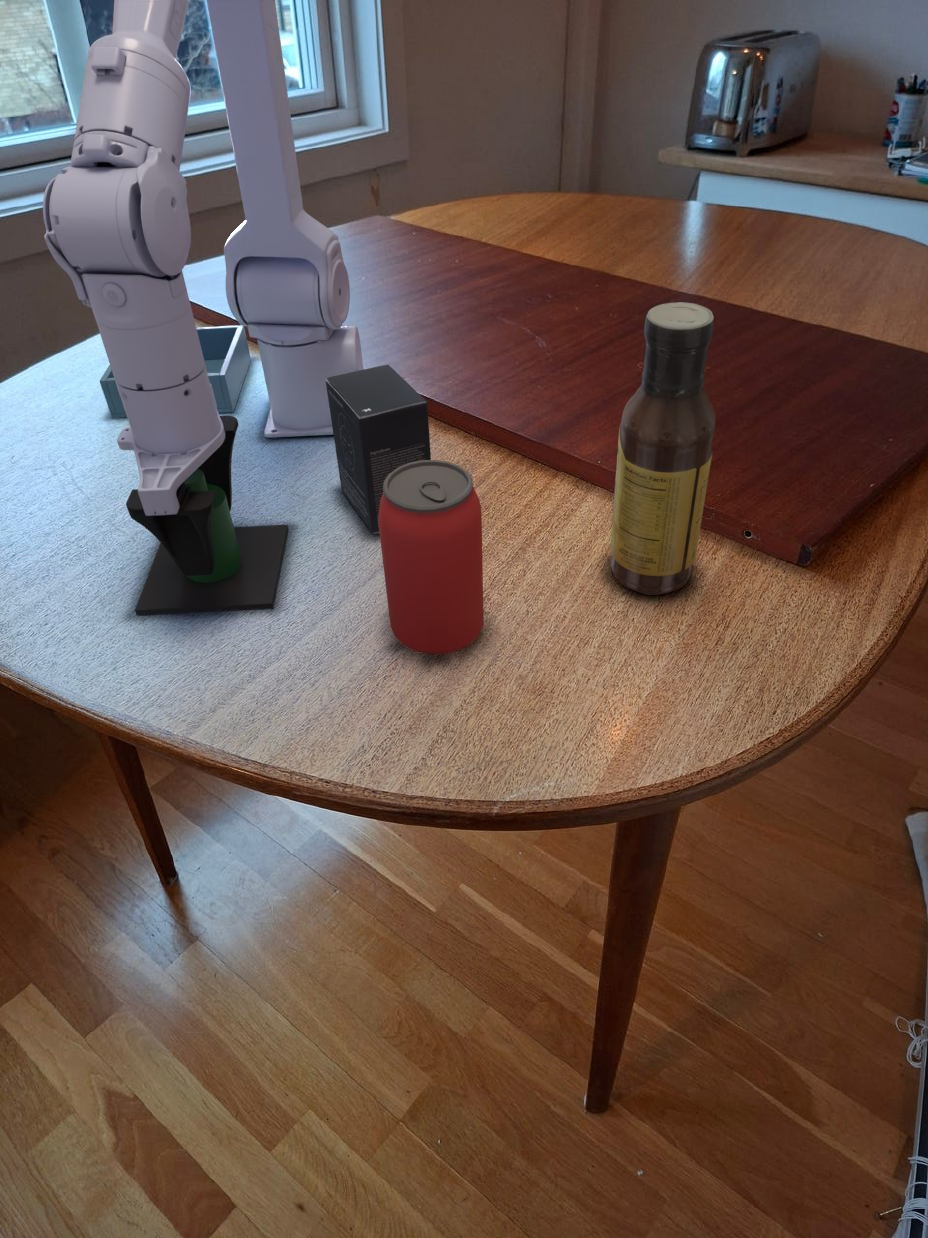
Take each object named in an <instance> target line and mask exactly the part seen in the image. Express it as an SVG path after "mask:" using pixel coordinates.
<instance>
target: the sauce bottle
mask: <svg viewBox="0 0 928 1238" xmlns="http://www.w3.org/2000/svg"><path fill="white" fill-rule="evenodd" d="M713 314H714V313H713V312H712V310H710V309H709V308H707V307H705V306H703V305H700V304H698V303H693V302H685V301H683V302H682V301H678V302H667V303H662V304H658V305H655V306H654V307H652V308H650V309H649V310H648V311H647V314H646V316H645V321H644V327H643V335H644V336H643V337H644V340H645V341H646V342H645V354H644V365H643V370H642V373H641V384H640V386H639V387H638V389H636V391H635V393H634V394H633V395H632V396H631V397H630V398H629V400H628V401H627V402H626V404H625V406H624V408H623V410H622V414H621V420H620V425H619V429H618V440H617V455H616V465H615V466H616V469H615V479H614V487H613V488H614V491H613V503H612V518H611V533H610V544H609V545H610V546H609V547H610V554H611V555H610V560H609V561H610V567H611V571H612V574H613V575H614V577H615V579H616V580H617V582H619V584H620V585H622V586H624V587H625V588H628V589H630V590H632V591H635V592H638V593H641V594H643V595H649V596H659V595H663V594H669V593H672V592H674V591H678V590H679V589H681V588H682V587H684V586H685V585H686V583H687V582H688V580H689V579H690V576H691V574H692V571H693V565H694V562H695V561H696V560H695V559H697V551H698V545H699V539H700V533H701V528H702V527H701V525H702V519H703V514H704V513H703V512H704V507H705V501H706V496H707V489H708V483H709V477H710V472H711V471H710V469H711V465H712V457H713V441H714V435H715V431H716V422H717V421H716V412H715V409H714V406H713V404H712V402H710V399H709V397H708V395H707V393H706V392H705V389H704V383H705V380H706V375H705V366H706V363H707V355H708V354H707V353H708V347H709V344H710V343H711V340H712V338H713V332H714V323H715V317H714V315H713Z"/></svg>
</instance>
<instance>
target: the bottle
mask: <svg viewBox="0 0 928 1238" xmlns="http://www.w3.org/2000/svg"><path fill="white" fill-rule="evenodd" d="M184 483H185V486H186V488H187V487H190V488H191V492H197V491H217V494H216V497H215V500H214V503H213V509H212V517H211V532H212V541H213V549H214V570H213V573H212V574H211V575H197V576H187V577H188V578H189V579H191V580H193V581H196V582H200V583H212V582H217V581H221V580H224V579H226V578H228V577H230V576H232V575H233V574H234V573H236V572H237V571H238V569H239V568H240V566H241V564H242V557H241V553H240V549H239V546H238V542H237V538H236V534H235V530H234V527H235V526H234V522H233V518H232V515H231V511H230V510H229V506H228V503H227V499H226V495H225V492H224V491H223V490H222V489H221V488H220V487H218V486H215V485H212V484H206V480H205V477H204V473H203V472H202V471H201V470H200V469H196V470H195V471H194V472H193V473H192V474H191V475H190V476H189V477H188V478H187V479H186V480H185V481H184Z"/></svg>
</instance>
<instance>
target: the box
mask: <svg viewBox="0 0 928 1238" xmlns="http://www.w3.org/2000/svg"><path fill="white" fill-rule="evenodd" d="M325 382H326V388H327V394H328V401H329V408H330V415H331V421H332V428H333V435H332V436H333V441H334V447H335V455H336V460H337V461H336V462H337V468H338V475H339V480H340V481H339V482H340V488H341V489H340V490H341V491H342V493H343V494H344V496H345V497H346V498H347V500H348V501H349V503H350V504H351V505H352V507H353V508H354V510H355V511H356V513H357V514H358V516H359V517H360V518H361V519H362V521H363V522H364V523H365V525H366V527H367V528H368V530H370V532H371V533H372V534H373V535H377V534H380V533H379V524H378V515H379V507H380V500H381V497H382V494H383V483H384V480H385V479H386V478H387V476H388V475H389V474H390V473H391V472H393V471H394V470H395V469H397V468H398V467H400V466H403V465H405V464H408V463H411V462H416V461H421V460H432V454H431V439H430V438H431V437H430V425H429V410H428V401H427V400H426V399H425V398H424V397H423V396H422V395H421V394H420V393H419V392H418V391H417V390H416V389H414V387H412V385H410V384H409V383H408V382H407V380H405V379H404V378H403V377H402V375H400V374H399V373H398V372H397V371H396V370H395V369H394V368H393V366H391V365H390V364H389V363H388V364H383V365H379V366H374V367H370V368H363V370H359V371H355V372H350V373H346V374H342V375H337V376H332V377H328V378H326V380H325Z"/></svg>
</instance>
